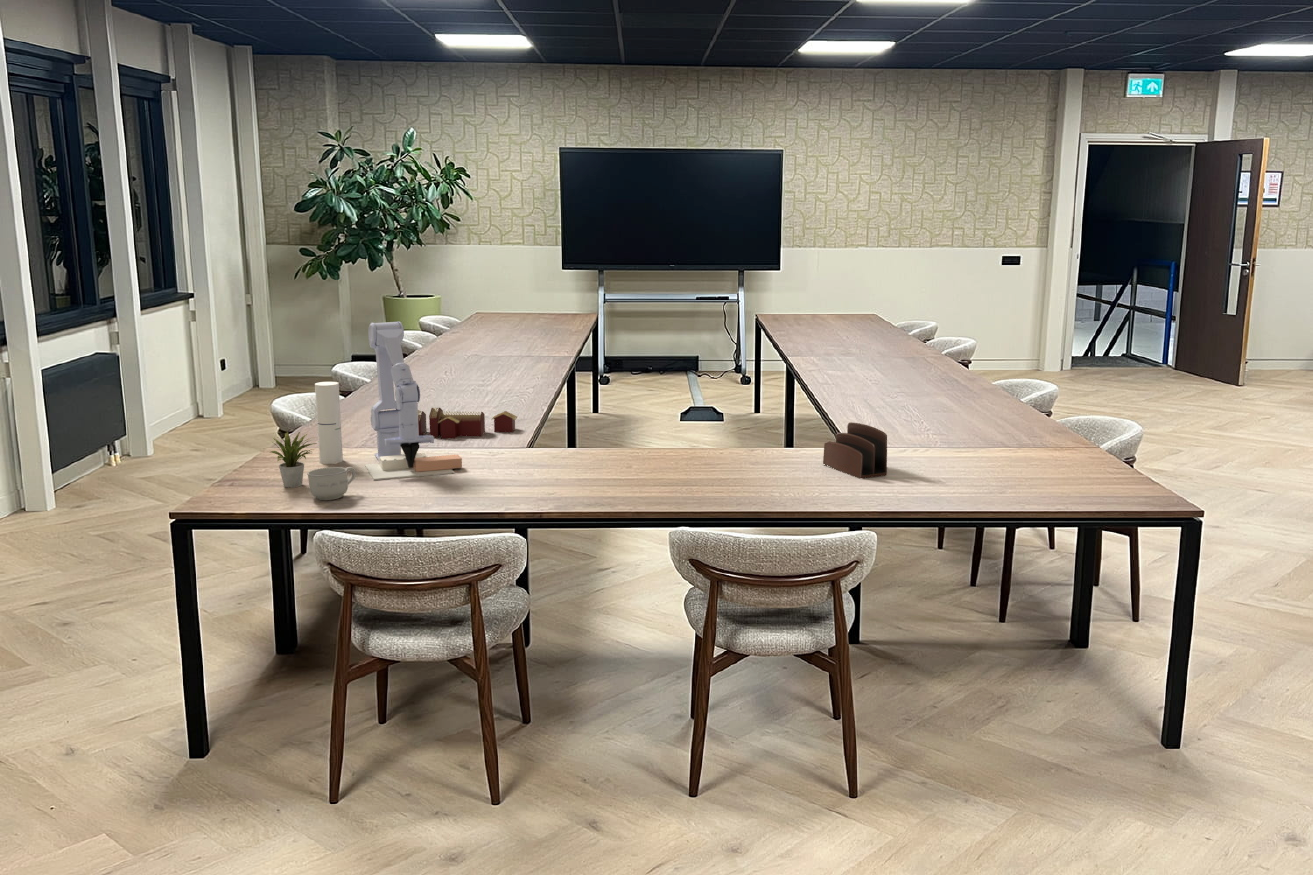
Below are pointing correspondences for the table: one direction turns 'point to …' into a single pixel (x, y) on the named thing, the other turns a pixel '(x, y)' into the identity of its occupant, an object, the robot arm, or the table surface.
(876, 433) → the letter holder
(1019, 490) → the table surface
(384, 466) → the ticket book
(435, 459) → the stub
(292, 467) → the house plant
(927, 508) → the table surface
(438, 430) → the toy houses
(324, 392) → the cylindrical container
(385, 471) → the mat
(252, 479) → the table surface
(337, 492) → the teacup
